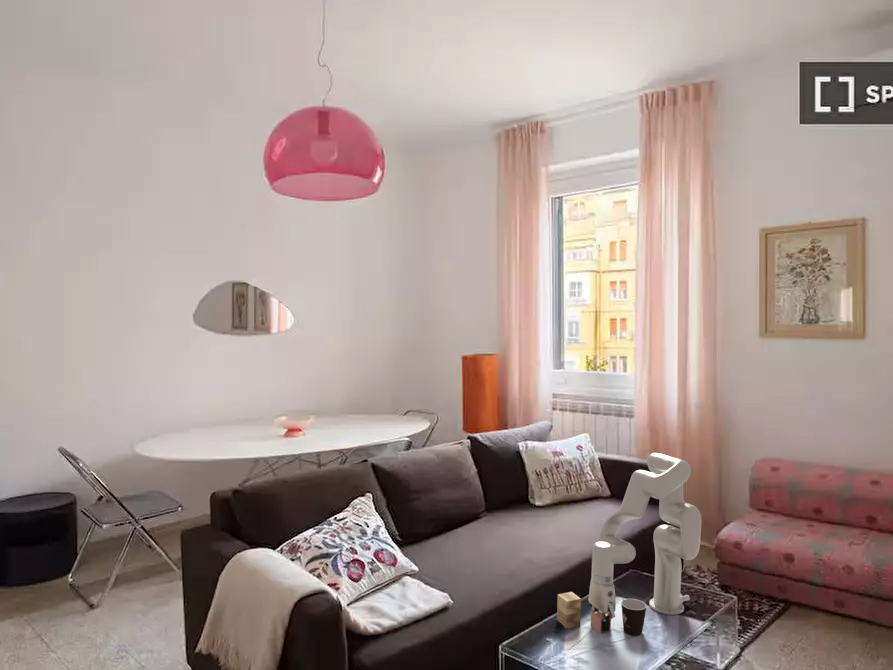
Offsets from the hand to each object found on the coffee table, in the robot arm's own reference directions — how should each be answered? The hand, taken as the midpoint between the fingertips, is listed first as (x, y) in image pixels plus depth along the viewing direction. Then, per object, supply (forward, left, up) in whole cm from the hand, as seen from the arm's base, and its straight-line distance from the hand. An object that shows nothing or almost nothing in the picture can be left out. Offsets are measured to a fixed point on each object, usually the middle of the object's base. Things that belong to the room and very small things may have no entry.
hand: (600, 626), depth 239 cm
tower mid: (+9, -7, +4) cm, 12 cm away
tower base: (+9, -7, -1) cm, 11 cm away
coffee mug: (-10, +5, -1) cm, 11 cm away
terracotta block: (0, 0, -1) cm, 1 cm away
